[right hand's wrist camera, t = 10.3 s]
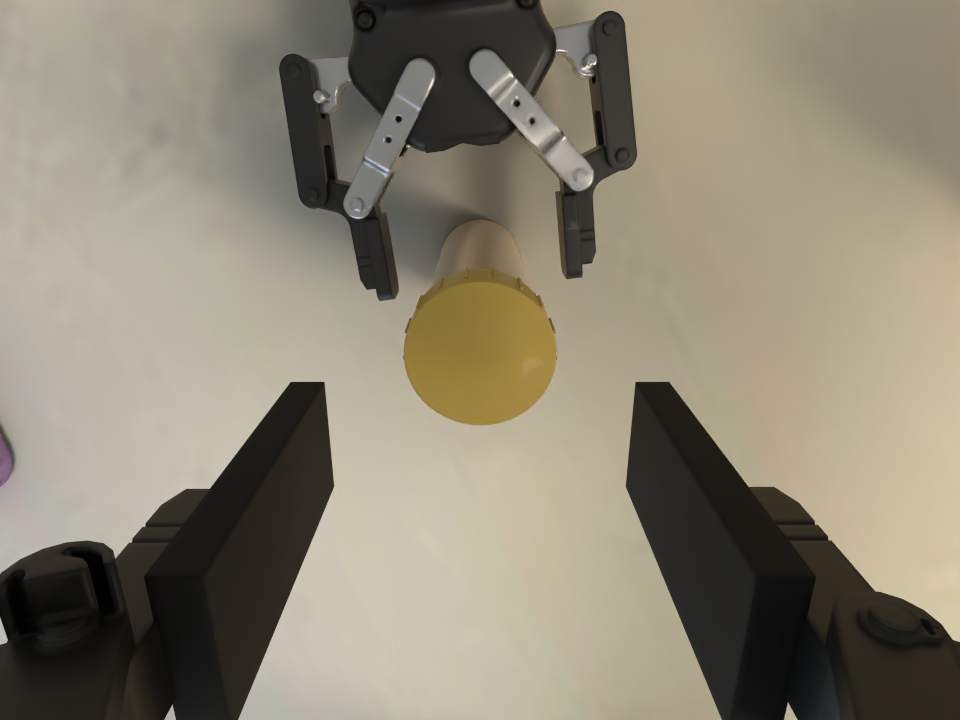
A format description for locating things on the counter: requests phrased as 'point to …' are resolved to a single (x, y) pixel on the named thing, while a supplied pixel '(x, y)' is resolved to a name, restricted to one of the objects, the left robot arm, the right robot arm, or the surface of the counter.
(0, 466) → the figurine
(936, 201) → the counter surface
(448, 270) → the jar
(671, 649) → the counter surface
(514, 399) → the lid
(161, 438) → the counter surface
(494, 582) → the counter surface
